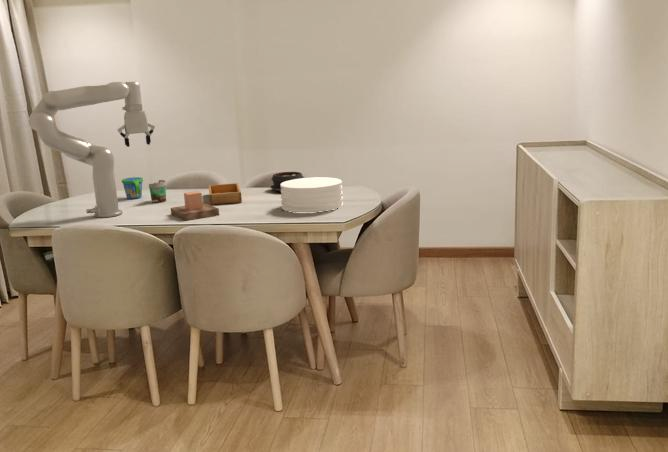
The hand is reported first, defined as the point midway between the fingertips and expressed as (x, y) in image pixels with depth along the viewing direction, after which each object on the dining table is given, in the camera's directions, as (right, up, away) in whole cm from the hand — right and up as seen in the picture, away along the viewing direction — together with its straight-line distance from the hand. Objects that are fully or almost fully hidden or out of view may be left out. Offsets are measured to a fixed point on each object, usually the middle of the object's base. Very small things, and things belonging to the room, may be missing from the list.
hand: (138, 145), depth 326 cm
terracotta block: (+29, -30, -14) cm, 44 cm away
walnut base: (+29, -33, -13) cm, 46 cm away
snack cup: (-12, -23, +36) cm, 45 cm away
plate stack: (+82, -29, -9) cm, 88 cm away
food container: (+5, -26, +23) cm, 35 cm away
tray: (+37, -25, +22) cm, 50 cm away
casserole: (+68, -19, +38) cm, 80 cm away
